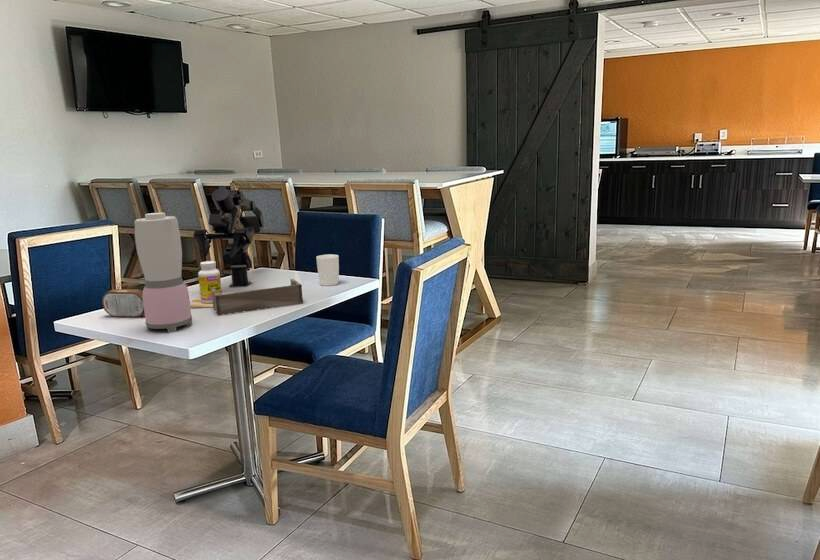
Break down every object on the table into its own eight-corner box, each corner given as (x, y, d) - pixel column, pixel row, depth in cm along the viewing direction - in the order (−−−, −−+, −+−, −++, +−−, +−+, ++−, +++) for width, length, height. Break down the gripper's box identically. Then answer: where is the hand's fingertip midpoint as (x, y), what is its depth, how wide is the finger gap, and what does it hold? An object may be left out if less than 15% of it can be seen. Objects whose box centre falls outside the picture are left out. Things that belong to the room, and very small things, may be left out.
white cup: (335, 286, 217) (333, 258, 215) (314, 286, 219) (312, 258, 217) (343, 281, 224) (341, 254, 222) (323, 281, 226) (321, 254, 224)
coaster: (198, 297, 209) (198, 296, 209) (239, 296, 208) (239, 295, 208) (181, 308, 195) (181, 307, 195) (225, 307, 194) (225, 306, 194)
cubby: (213, 307, 195) (211, 289, 193) (294, 296, 205) (293, 278, 203) (217, 315, 185) (215, 296, 184) (303, 303, 195) (301, 284, 194)
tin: (152, 315, 189) (149, 288, 187) (146, 318, 186) (142, 291, 184) (109, 314, 192) (105, 288, 190) (102, 317, 189) (98, 290, 187)
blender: (202, 323, 177) (189, 211, 171) (166, 335, 167) (151, 216, 160) (165, 317, 185) (151, 210, 178) (129, 328, 175) (113, 215, 168)
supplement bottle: (208, 304, 197) (203, 265, 194) (197, 301, 201) (192, 263, 199) (226, 300, 202) (222, 261, 199) (216, 297, 206) (211, 259, 203)
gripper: (192, 205, 209) (180, 243, 200) (245, 204, 206) (235, 242, 198) (205, 225, 218) (194, 262, 210) (256, 224, 216) (247, 261, 207)
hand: (217, 257), depth 206 cm, fingers open, 9 cm apart
